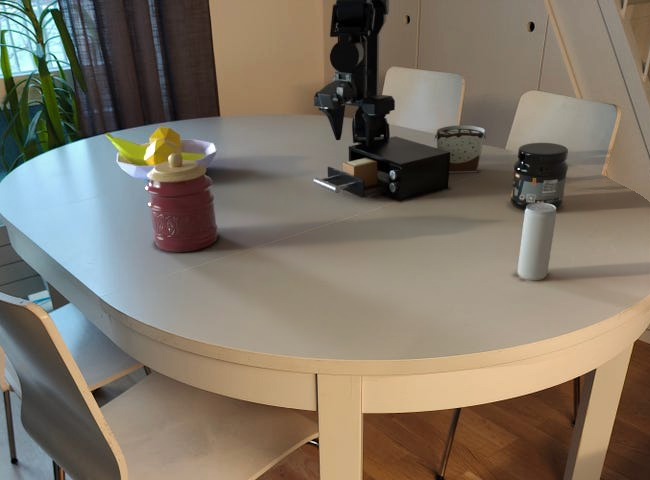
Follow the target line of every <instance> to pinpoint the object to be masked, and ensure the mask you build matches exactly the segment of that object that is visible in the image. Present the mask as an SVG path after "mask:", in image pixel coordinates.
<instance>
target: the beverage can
mask: <svg viewBox="0 0 650 480" xmlns="http://www.w3.org/2000/svg"><path fill="white" fill-rule="evenodd" d="M523 218H524V219H523V224H522V232H521V239H520V240H521V241H520V248H519V255H518V256H519V257H518V263H517V265H518V266H517V274H518V276H519V277H520V278H521V279H523V280H526V281H541V280H543V279H544V278H546V276H547V275H548V271H549V264H550V259H551V251H552V246H553V238H554V231H555V227H556V225H555V224H556V219H557V209H556V207H555V206H554V205H552V204H548V203H532V204H529V205H527V207H526V210H525V211H524V216H523Z"/></svg>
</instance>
